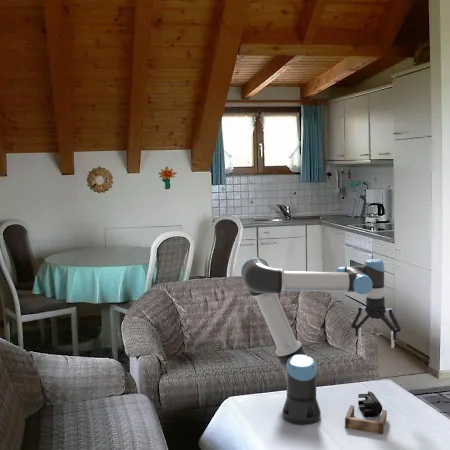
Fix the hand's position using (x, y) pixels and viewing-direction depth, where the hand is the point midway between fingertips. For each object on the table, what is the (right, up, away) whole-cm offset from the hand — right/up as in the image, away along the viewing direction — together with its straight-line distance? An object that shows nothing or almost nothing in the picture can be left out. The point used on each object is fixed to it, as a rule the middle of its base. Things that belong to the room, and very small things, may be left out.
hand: (376, 345), depth 242 cm
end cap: (-5, -25, -9) cm, 27 cm away
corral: (-9, -26, -20) cm, 34 cm away
